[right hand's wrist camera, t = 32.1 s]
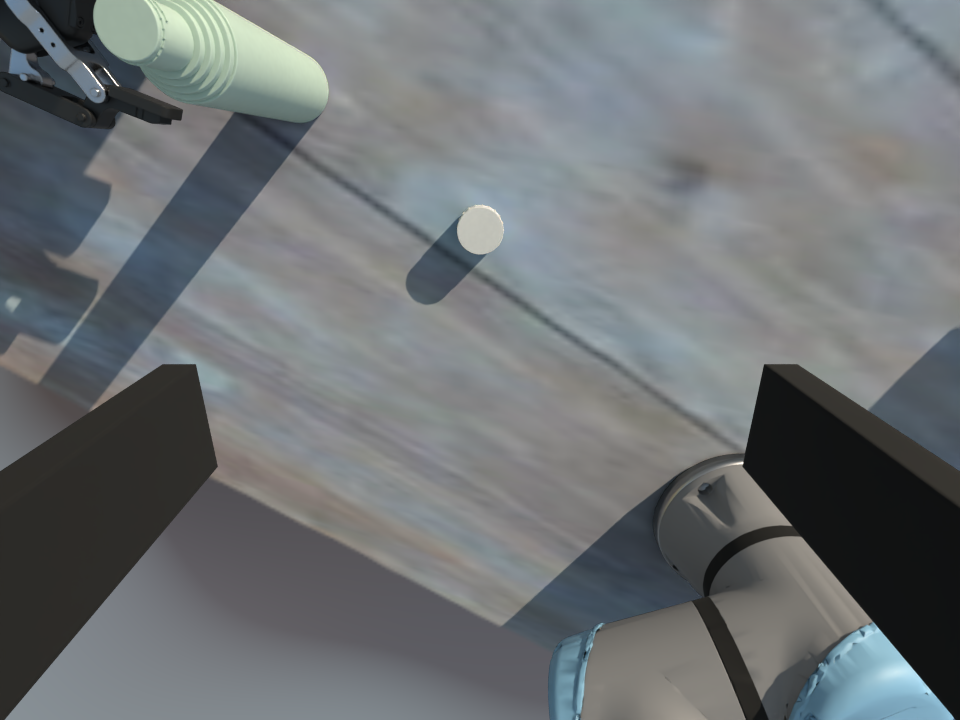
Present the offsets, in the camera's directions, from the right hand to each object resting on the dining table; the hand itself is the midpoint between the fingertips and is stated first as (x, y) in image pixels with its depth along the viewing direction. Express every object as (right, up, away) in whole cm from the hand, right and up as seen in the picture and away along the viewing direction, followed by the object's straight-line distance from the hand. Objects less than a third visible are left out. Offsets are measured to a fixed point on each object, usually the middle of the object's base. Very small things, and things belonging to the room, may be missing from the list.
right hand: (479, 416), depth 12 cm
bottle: (-14, +22, +28) cm, 38 cm away
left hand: (-19, +21, +21) cm, 35 cm away
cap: (0, +12, +30) cm, 32 cm away
